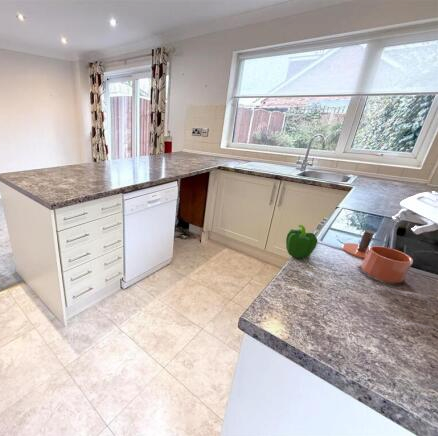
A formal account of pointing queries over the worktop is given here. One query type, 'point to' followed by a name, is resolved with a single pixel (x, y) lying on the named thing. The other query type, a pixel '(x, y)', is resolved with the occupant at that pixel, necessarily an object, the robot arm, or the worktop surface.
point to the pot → (386, 263)
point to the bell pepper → (300, 242)
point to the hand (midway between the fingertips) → (403, 225)
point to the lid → (360, 245)
